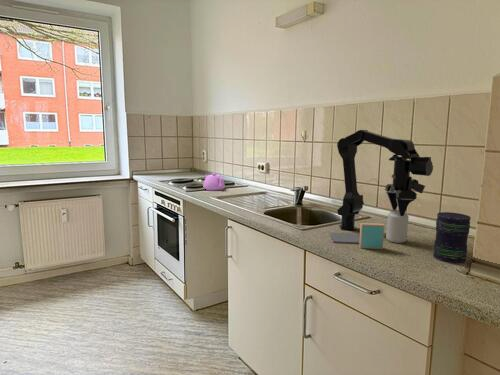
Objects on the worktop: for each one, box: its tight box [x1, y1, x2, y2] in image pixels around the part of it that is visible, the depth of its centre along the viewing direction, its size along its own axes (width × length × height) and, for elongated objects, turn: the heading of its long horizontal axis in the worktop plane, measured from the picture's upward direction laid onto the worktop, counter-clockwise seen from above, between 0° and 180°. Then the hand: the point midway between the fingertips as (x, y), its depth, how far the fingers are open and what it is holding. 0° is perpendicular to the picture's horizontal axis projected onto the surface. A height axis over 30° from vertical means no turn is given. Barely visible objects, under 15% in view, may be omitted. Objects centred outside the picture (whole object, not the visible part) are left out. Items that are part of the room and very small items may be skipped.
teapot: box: [202, 172, 226, 192], centre depth 255 cm, size 22×16×12 cm
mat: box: [329, 232, 360, 245], centre depth 140 cm, size 12×12×1 cm
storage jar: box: [432, 211, 471, 265], centre depth 118 cm, size 10×10×15 cm
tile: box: [358, 222, 385, 250], centre depth 129 cm, size 2×8×9 cm, turn 84°
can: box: [385, 209, 409, 244], centre depth 137 cm, size 8×8×12 cm
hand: (398, 213), depth 137 cm, fingers open, 9 cm apart
